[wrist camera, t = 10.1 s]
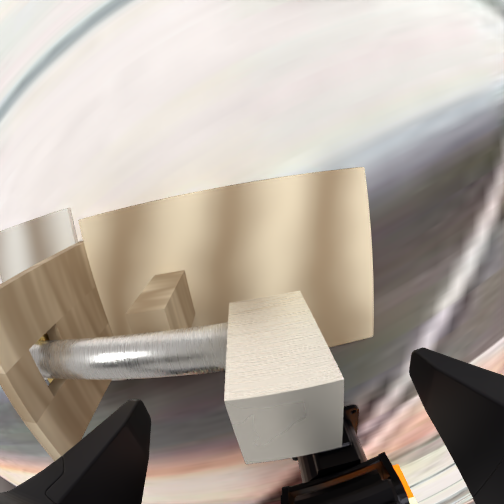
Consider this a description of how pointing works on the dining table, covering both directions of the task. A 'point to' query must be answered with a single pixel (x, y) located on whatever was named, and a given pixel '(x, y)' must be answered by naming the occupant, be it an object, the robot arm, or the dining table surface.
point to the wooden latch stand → (177, 277)
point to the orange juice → (405, 484)
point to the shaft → (232, 372)
